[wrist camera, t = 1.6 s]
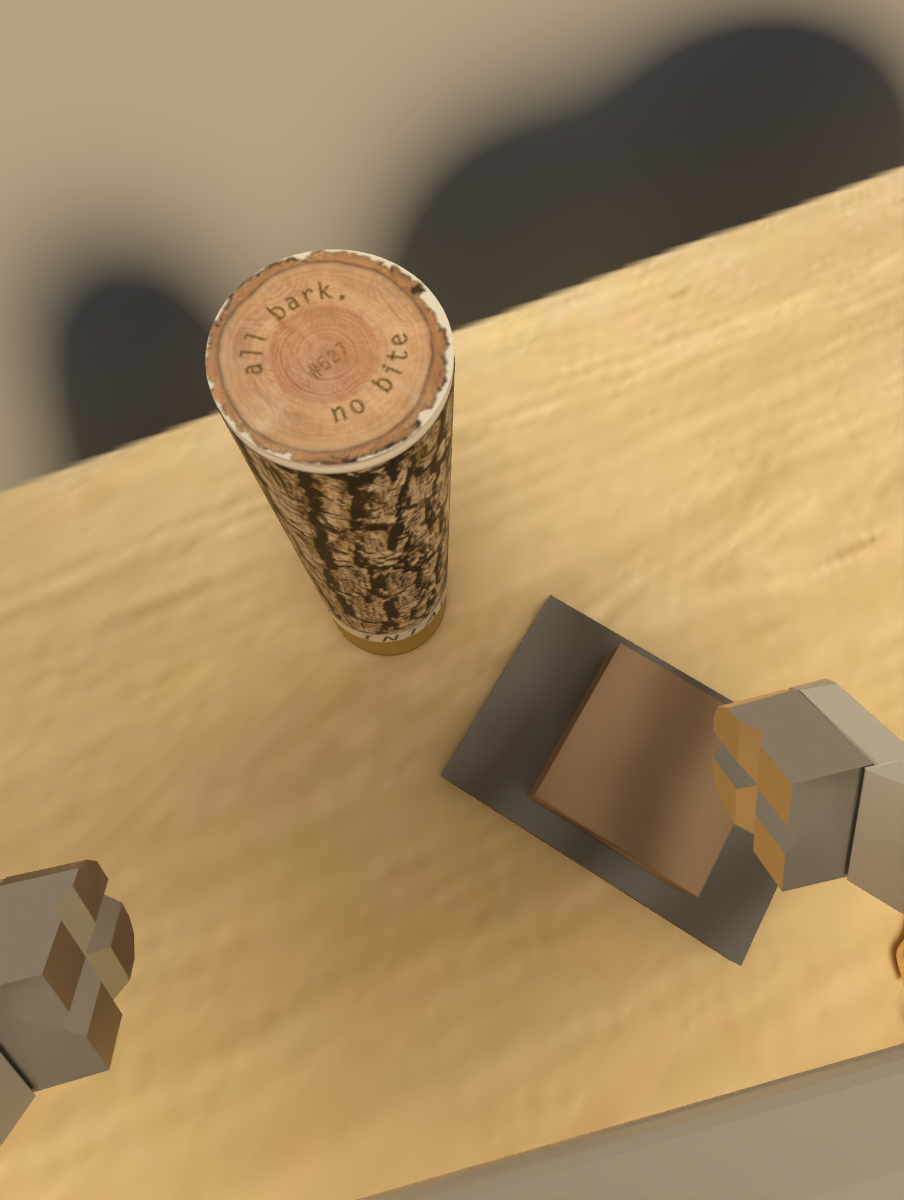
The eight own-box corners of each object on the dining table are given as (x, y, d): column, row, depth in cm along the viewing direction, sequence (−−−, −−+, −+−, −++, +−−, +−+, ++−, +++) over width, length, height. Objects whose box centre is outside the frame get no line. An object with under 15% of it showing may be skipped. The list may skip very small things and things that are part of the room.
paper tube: (309, 598, 44) (153, 344, 20) (394, 527, 45) (343, 208, 21) (384, 681, 43) (315, 516, 19) (469, 605, 44) (506, 359, 20)
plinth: (441, 776, 41) (441, 771, 37) (546, 601, 44) (559, 576, 39) (729, 960, 39) (770, 981, 34) (821, 762, 42) (870, 756, 37)
